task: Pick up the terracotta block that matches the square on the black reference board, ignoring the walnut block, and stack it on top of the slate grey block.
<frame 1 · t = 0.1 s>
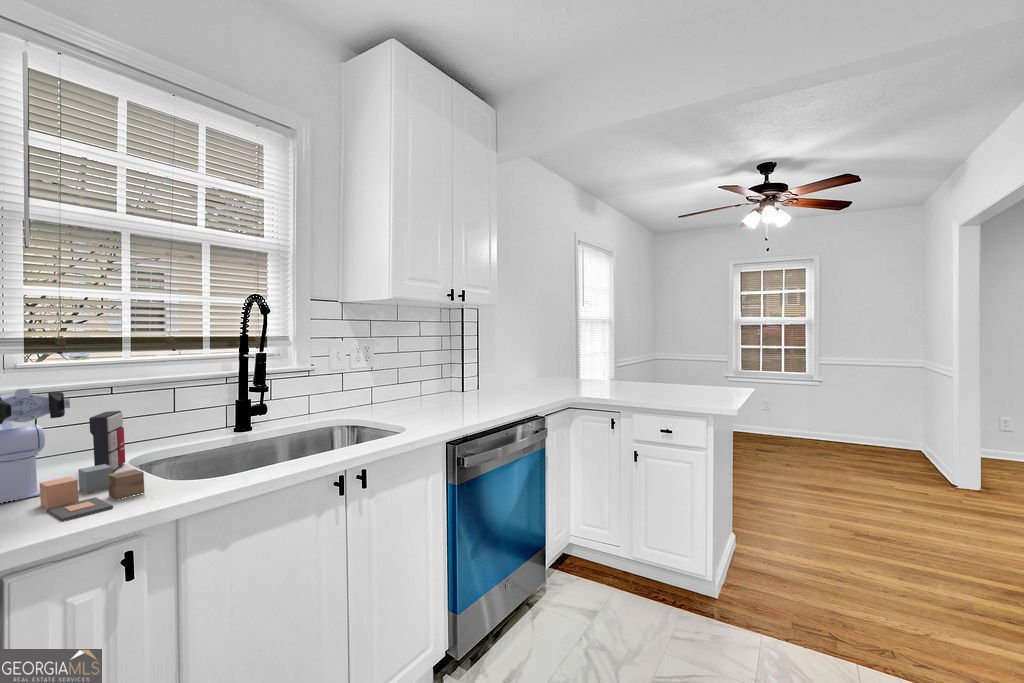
hand: (35, 407, 101), 22 cm above the worktop, tool horizontal, fingers open, 7 cm apart
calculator: (110, 470, 134), on the worktop
terracotta block: (59, 504, 107), on the worktop
slate block: (96, 489, 117), on the worktop
reference board: (80, 510, 103), on the worktop
walnut block: (126, 495, 112), on the worktop
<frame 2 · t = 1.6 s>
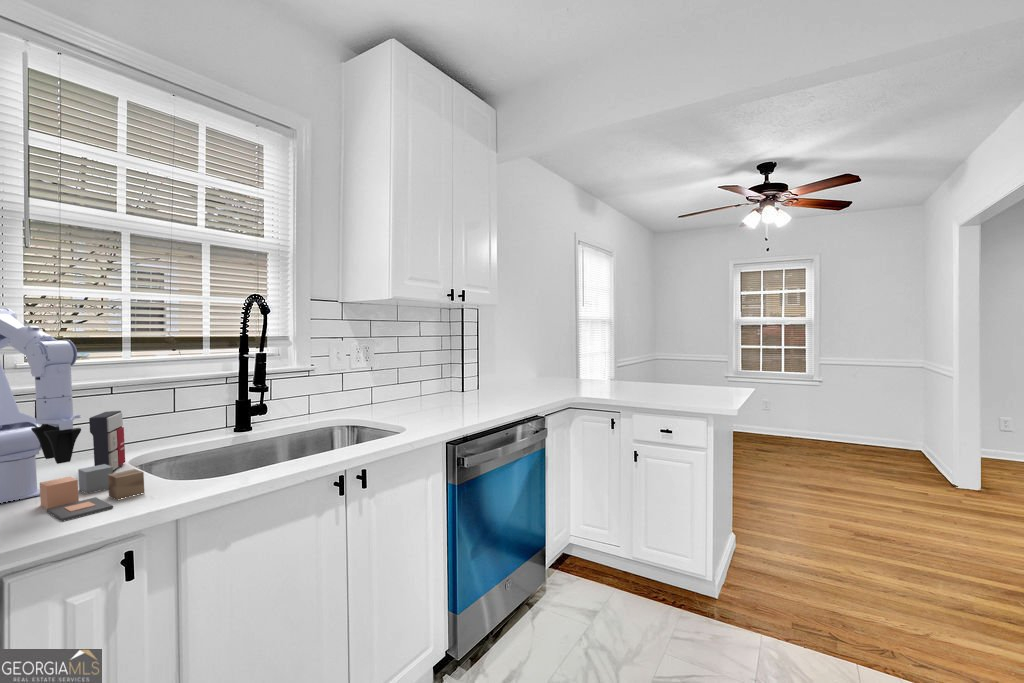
hand: (57, 460, 106), 9 cm above the worktop, tool pointing down, fingers open, 7 cm apart
nothing on the worktop moved.
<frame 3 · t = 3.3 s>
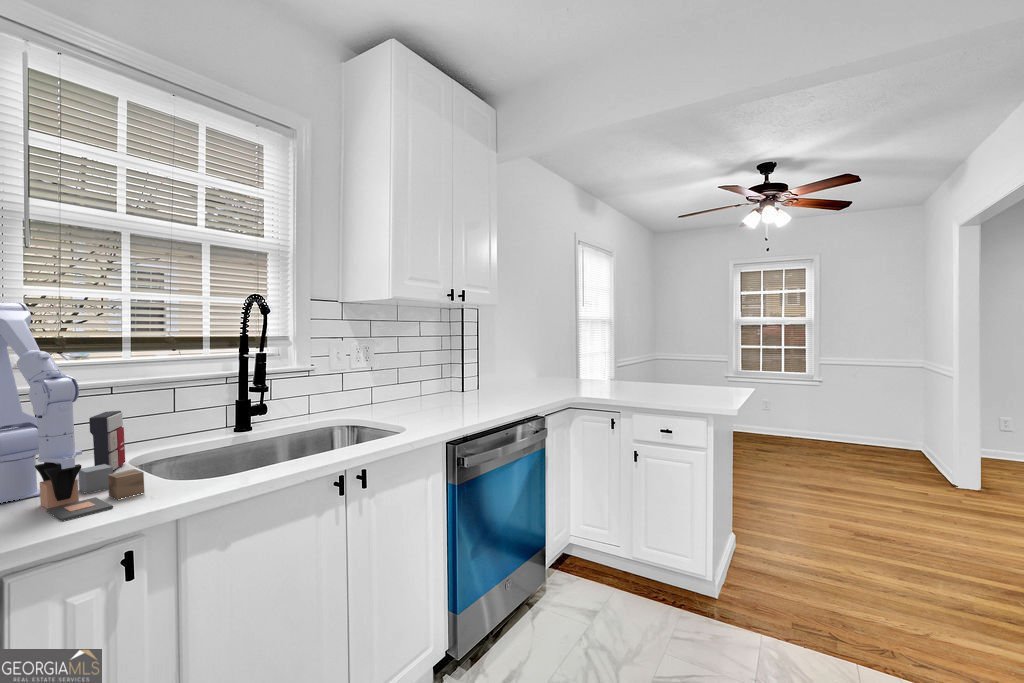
hand: (59, 497, 107), 1 cm above the worktop, tool pointing down, fingers closed on terracotta block, 5 cm apart
terracotta block: (59, 503, 107), on the worktop, touching gripper
everything else where it was.
when the fingers open (8 cm above the worktop, at t = 6.6 s): terracotta block drops 1 cm, resting on slate block.
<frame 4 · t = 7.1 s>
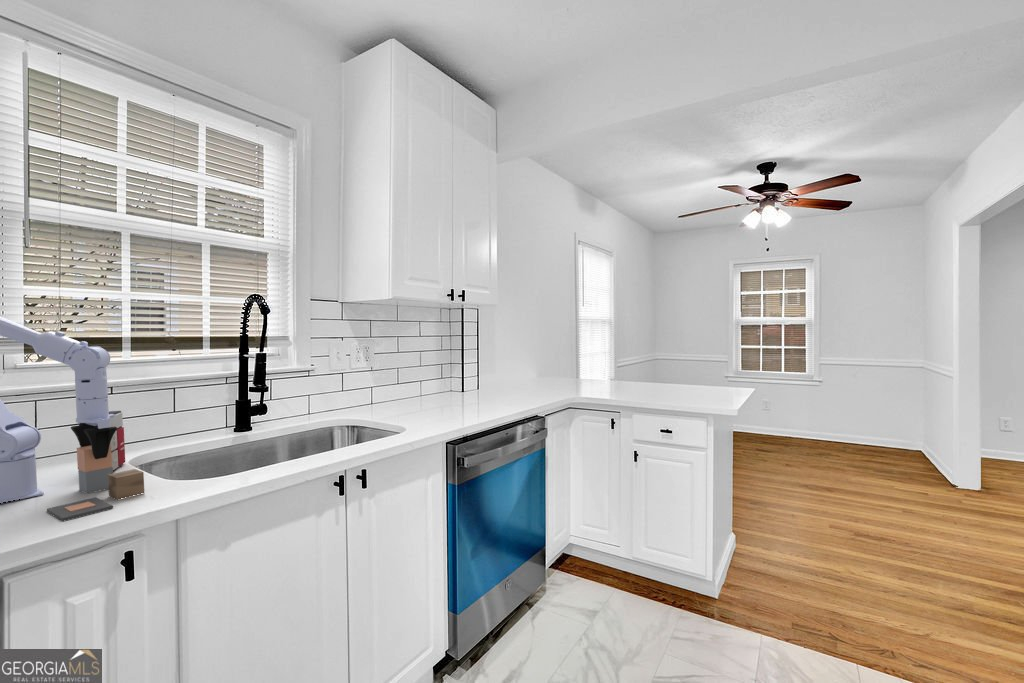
hand: (94, 456, 117), 8 cm above the worktop, tool pointing down, fingers open, 7 cm apart
terracotta block: (95, 468, 117), point 5 cm above the worktop, touching slate block
slate block: (96, 489, 117), on the worktop, touching terracotta block
everything else where it was.
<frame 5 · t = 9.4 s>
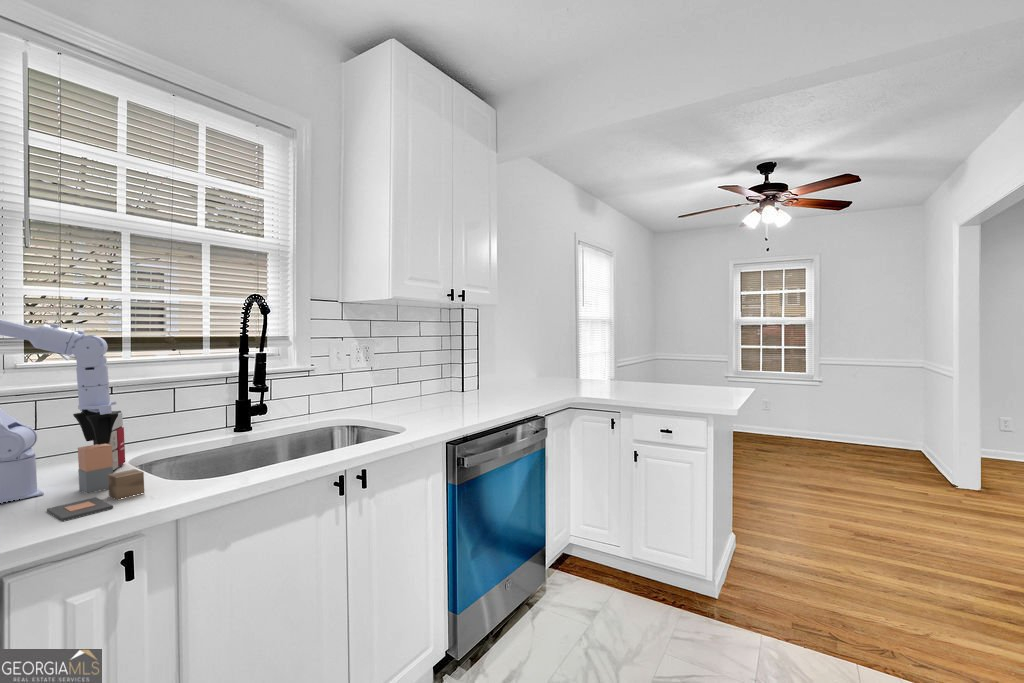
hand: (97, 442, 119), 10 cm above the worktop, tool pointing down, fingers open, 7 cm apart
nothing on the worktop moved.
at the end: terracotta block 0.2 cm off-centre on the slate block, point 5.0 cm above the slate block's base; terracotta block tilted 0°; the gripper is holding nothing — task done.
